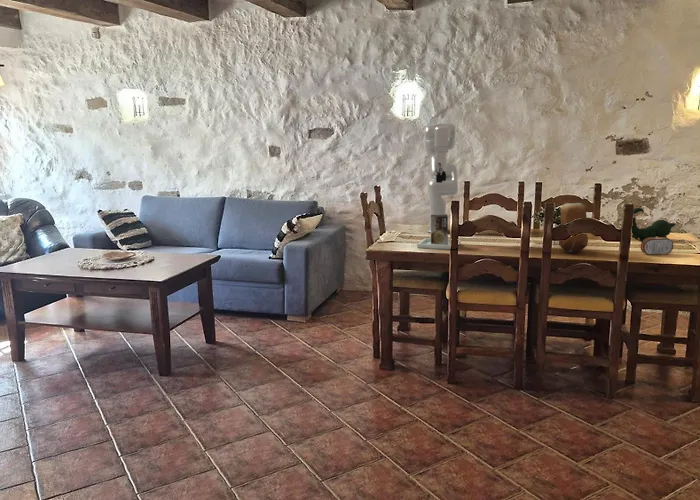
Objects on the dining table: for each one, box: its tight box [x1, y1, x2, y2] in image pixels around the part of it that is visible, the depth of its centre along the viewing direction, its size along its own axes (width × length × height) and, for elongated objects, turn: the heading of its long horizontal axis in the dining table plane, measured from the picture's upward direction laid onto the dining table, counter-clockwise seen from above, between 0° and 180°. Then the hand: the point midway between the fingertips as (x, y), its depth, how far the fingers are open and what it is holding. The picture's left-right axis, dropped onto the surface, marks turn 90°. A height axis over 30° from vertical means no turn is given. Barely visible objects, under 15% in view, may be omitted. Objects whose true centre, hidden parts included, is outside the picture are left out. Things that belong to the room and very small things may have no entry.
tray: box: [416, 237, 461, 251], centre depth 307 cm, size 16×20×2 cm
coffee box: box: [430, 213, 449, 245], centre depth 306 cm, size 9×6×16 cm
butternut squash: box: [558, 202, 589, 254], centre depth 281 cm, size 14×13×25 cm
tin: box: [640, 237, 674, 256], centre depth 275 cm, size 15×3×8 cm, turn 92°
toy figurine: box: [631, 207, 677, 241], centre depth 306 cm, size 9×19×25 cm
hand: (441, 181), depth 313 cm, fingers open, 9 cm apart
